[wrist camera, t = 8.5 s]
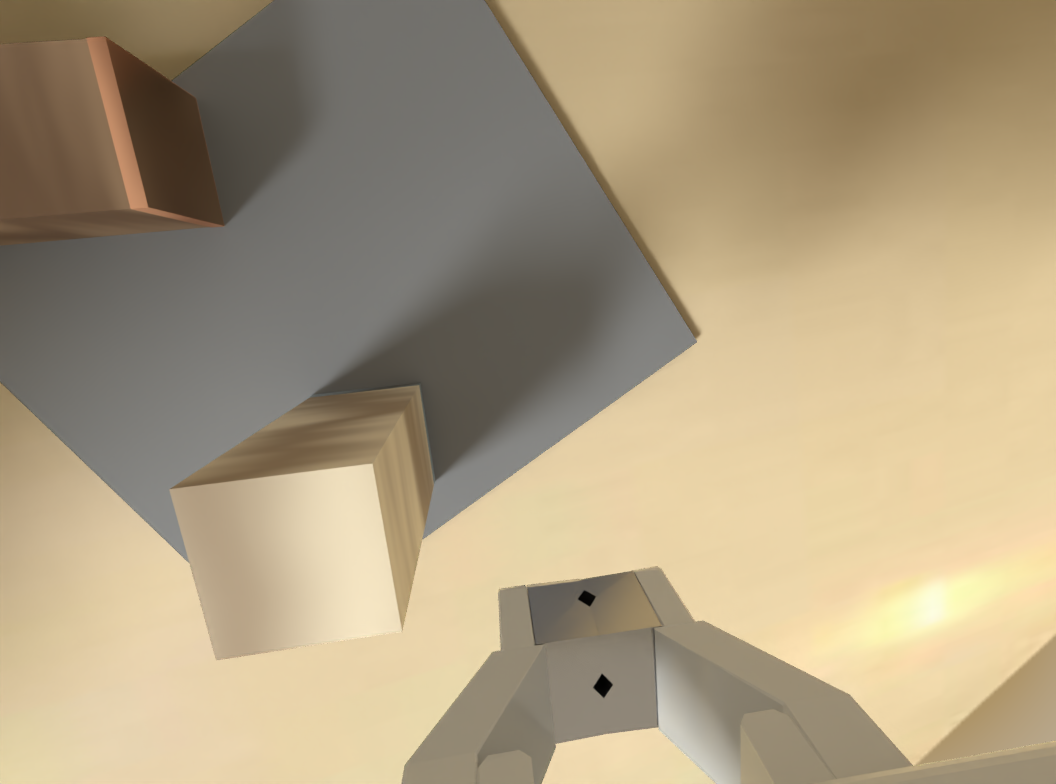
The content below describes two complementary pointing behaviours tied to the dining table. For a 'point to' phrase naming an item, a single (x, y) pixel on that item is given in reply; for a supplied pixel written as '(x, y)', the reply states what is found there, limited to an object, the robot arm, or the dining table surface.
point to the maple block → (311, 523)
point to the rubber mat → (347, 263)
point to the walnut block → (97, 146)
